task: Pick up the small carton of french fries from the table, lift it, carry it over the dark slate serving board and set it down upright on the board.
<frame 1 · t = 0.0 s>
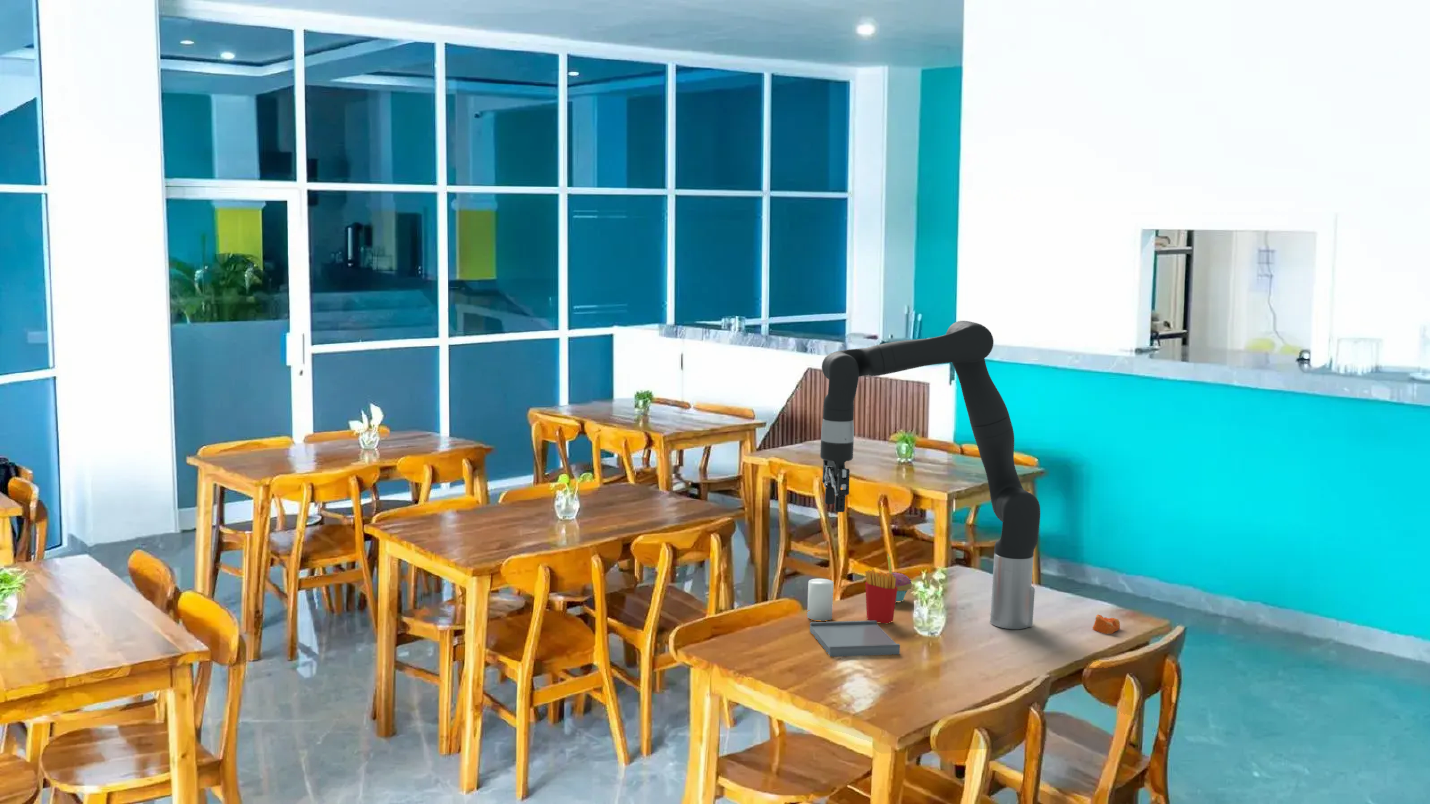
hand: (834, 507, 308), 29 cm above the table, tool pointing down, fingers open, 8 cm apart
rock: (1106, 633, 318), on the table
slate board: (853, 642, 303), on the table
white rounded cylinder: (819, 618, 321), on the table
french fries: (878, 620, 320), on the table
cupcake: (893, 600, 338), on the table
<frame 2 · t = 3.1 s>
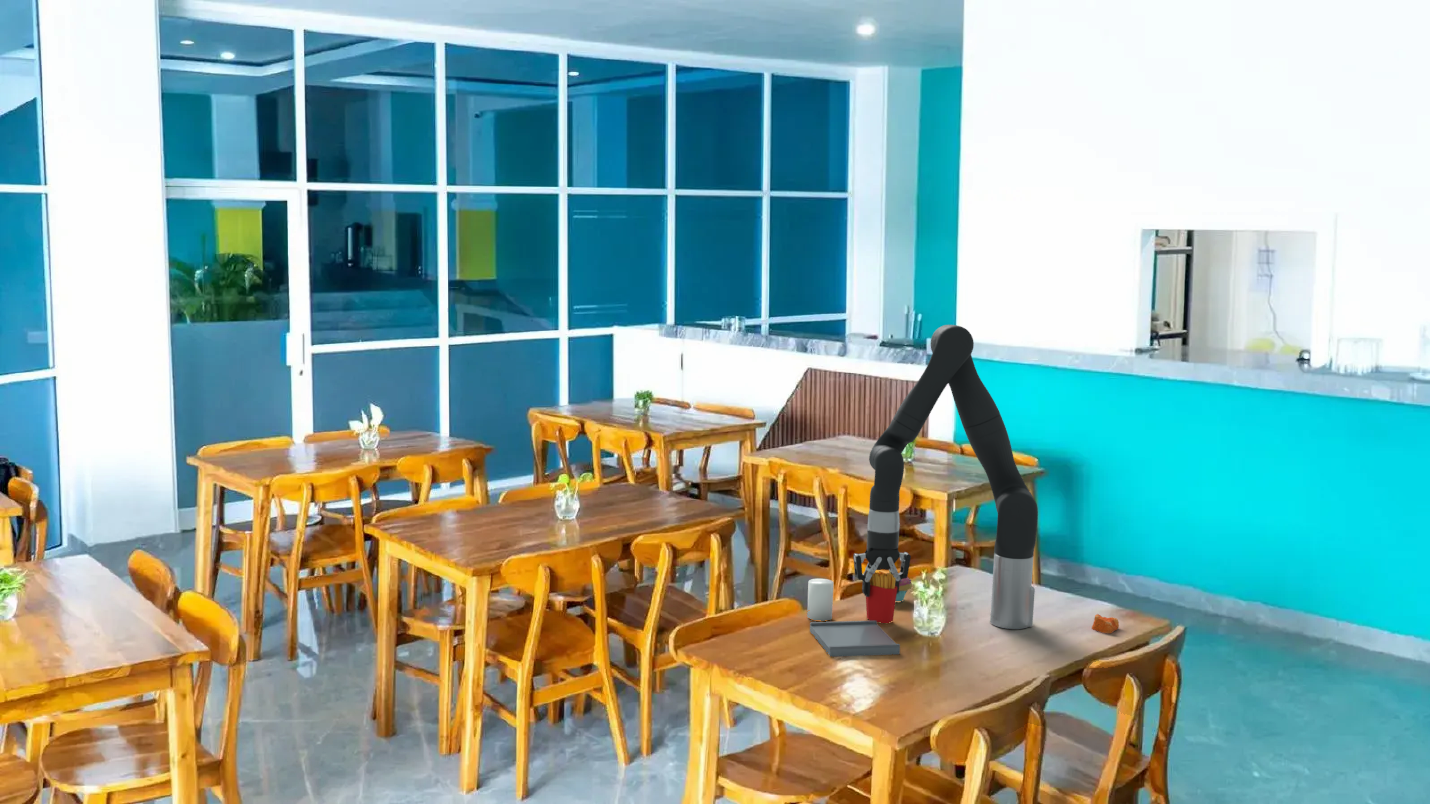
hand: (880, 595, 320), 6 cm above the table, tool pointing down, fingers closed on french fries, 6 cm apart
french fries: (878, 620, 320), on the table, touching gripper
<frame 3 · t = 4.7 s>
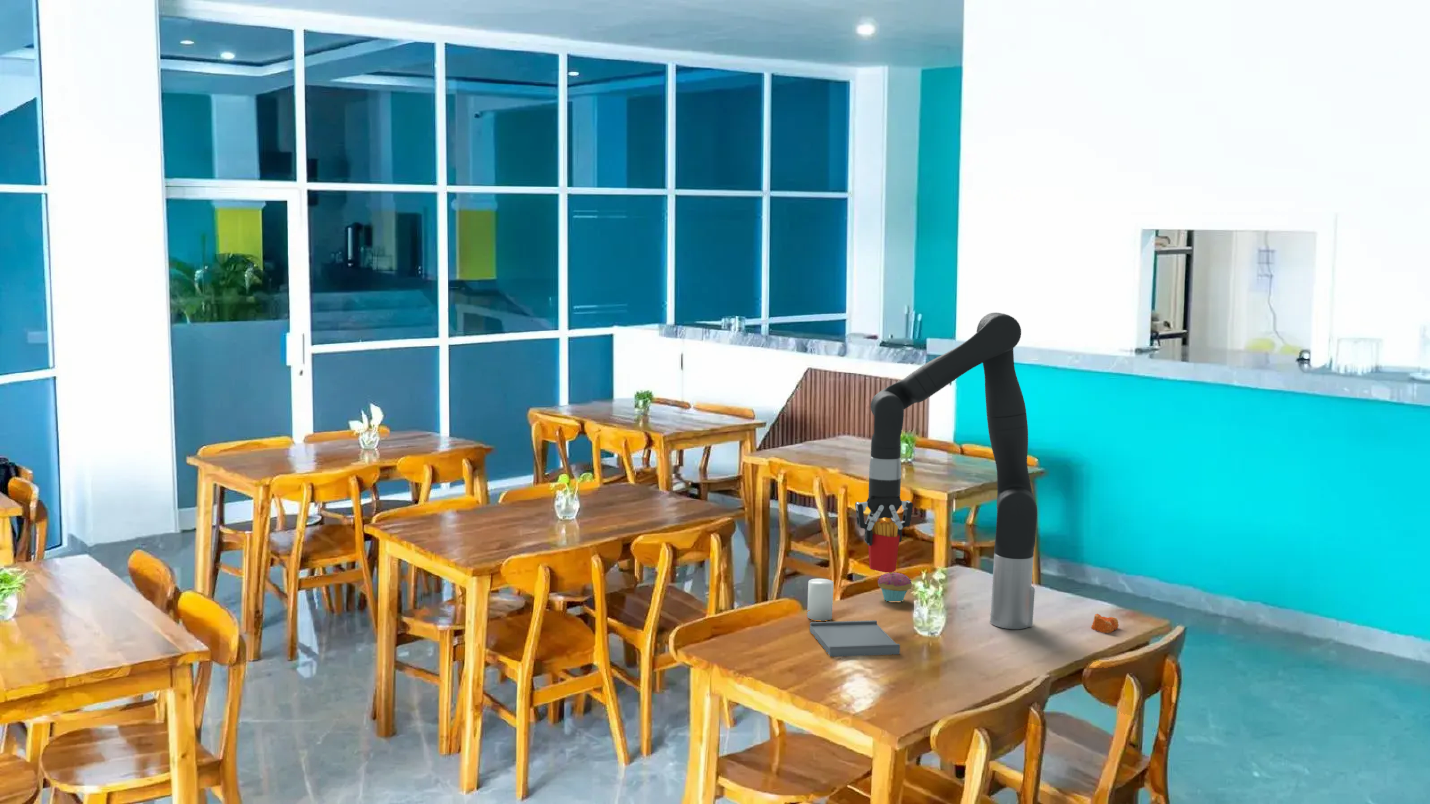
hand: (882, 544, 318), 19 cm above the table, tool pointing down, fingers closed on french fries, 6 cm apart
french fries: (881, 570, 319), point 12 cm above the table, touching gripper
everything else where it was.
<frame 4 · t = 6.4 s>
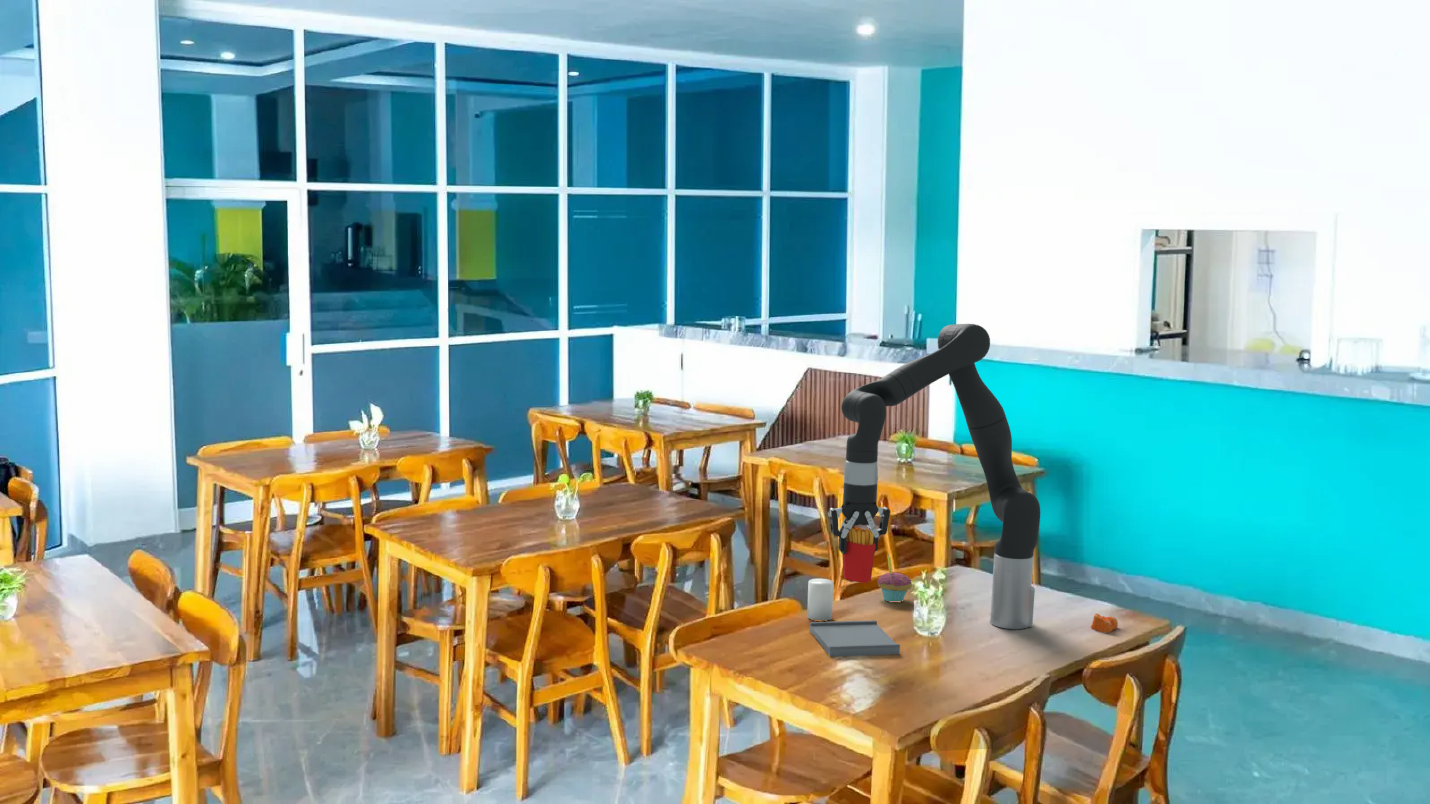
hand: (857, 552, 300), 21 cm above the table, tool pointing down, fingers closed on french fries, 6 cm apart
french fries: (856, 579, 301), point 15 cm above the table, touching gripper
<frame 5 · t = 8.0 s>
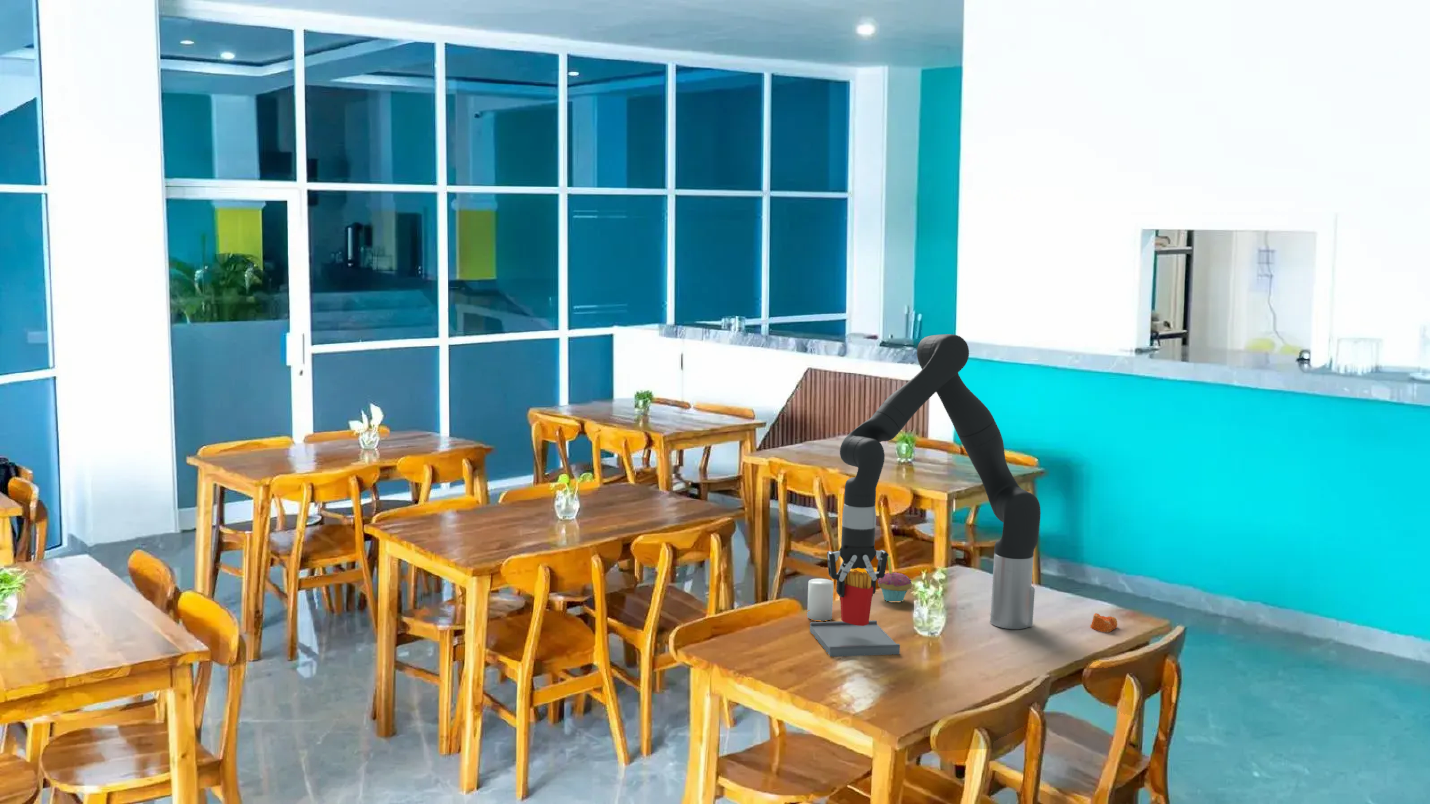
hand: (855, 595, 301), 11 cm above the table, tool pointing down, fingers closed on french fries, 6 cm apart
french fries: (853, 622, 302), point 5 cm above the table, touching gripper
when the fingers open (8 cm above the table, at t = 9.5 s): french fries stays where it is, resting on slate board.
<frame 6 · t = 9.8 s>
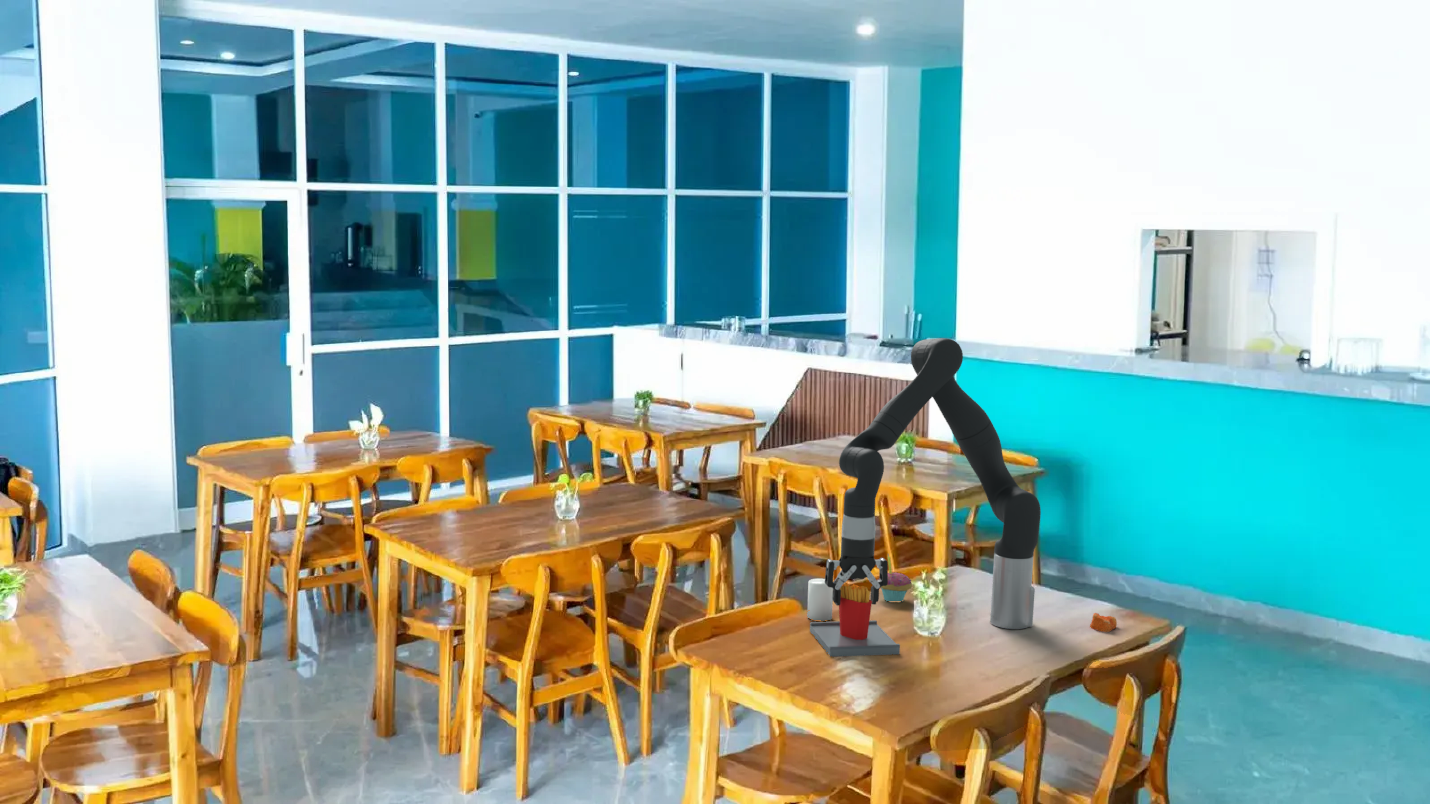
hand: (855, 604, 302), 9 cm above the table, tool pointing down, fingers open, 8 cm apart
french fries: (852, 636, 303), point 1 cm above the table, touching slate board
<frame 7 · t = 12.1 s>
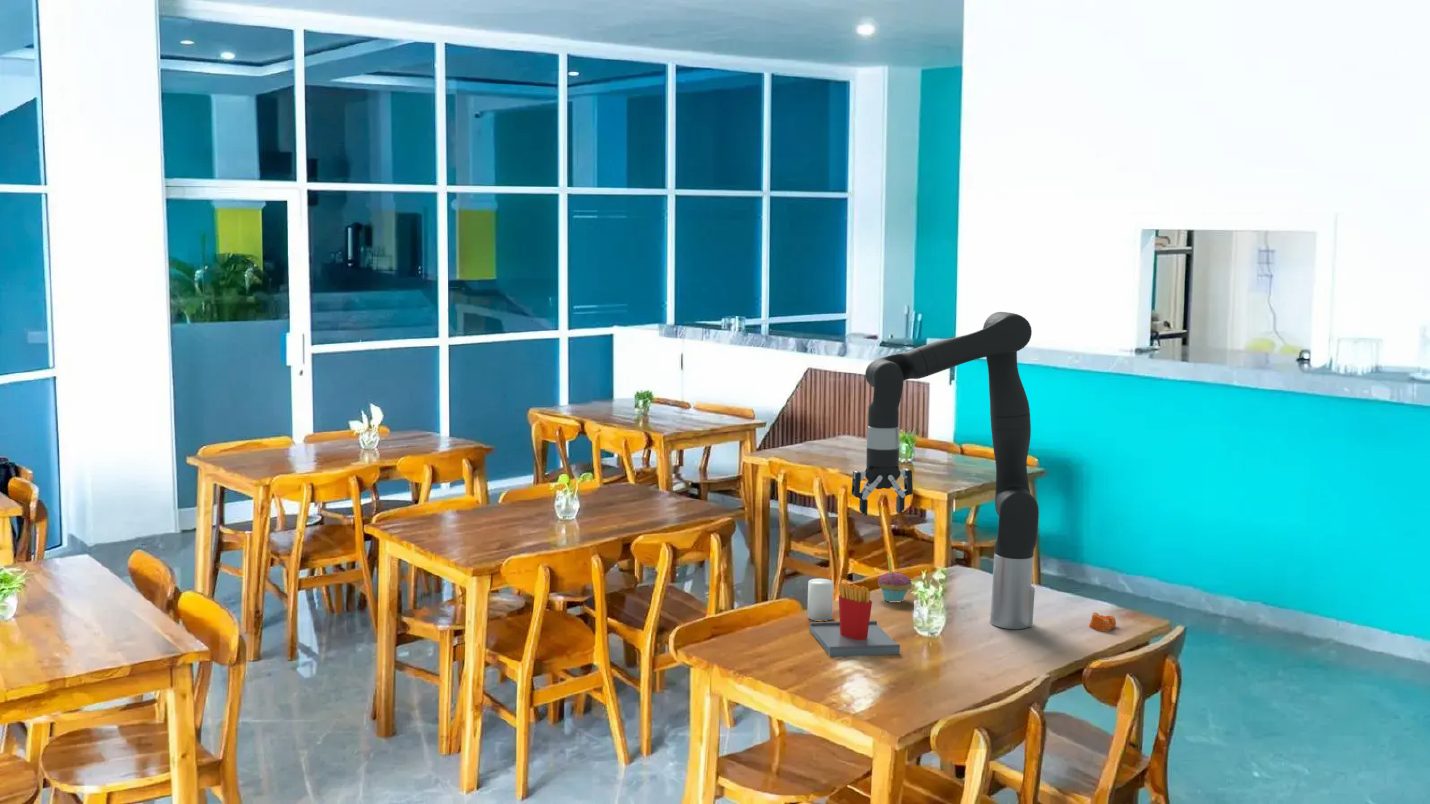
hand: (881, 513, 310), 28 cm above the table, tool pointing down, fingers open, 8 cm apart
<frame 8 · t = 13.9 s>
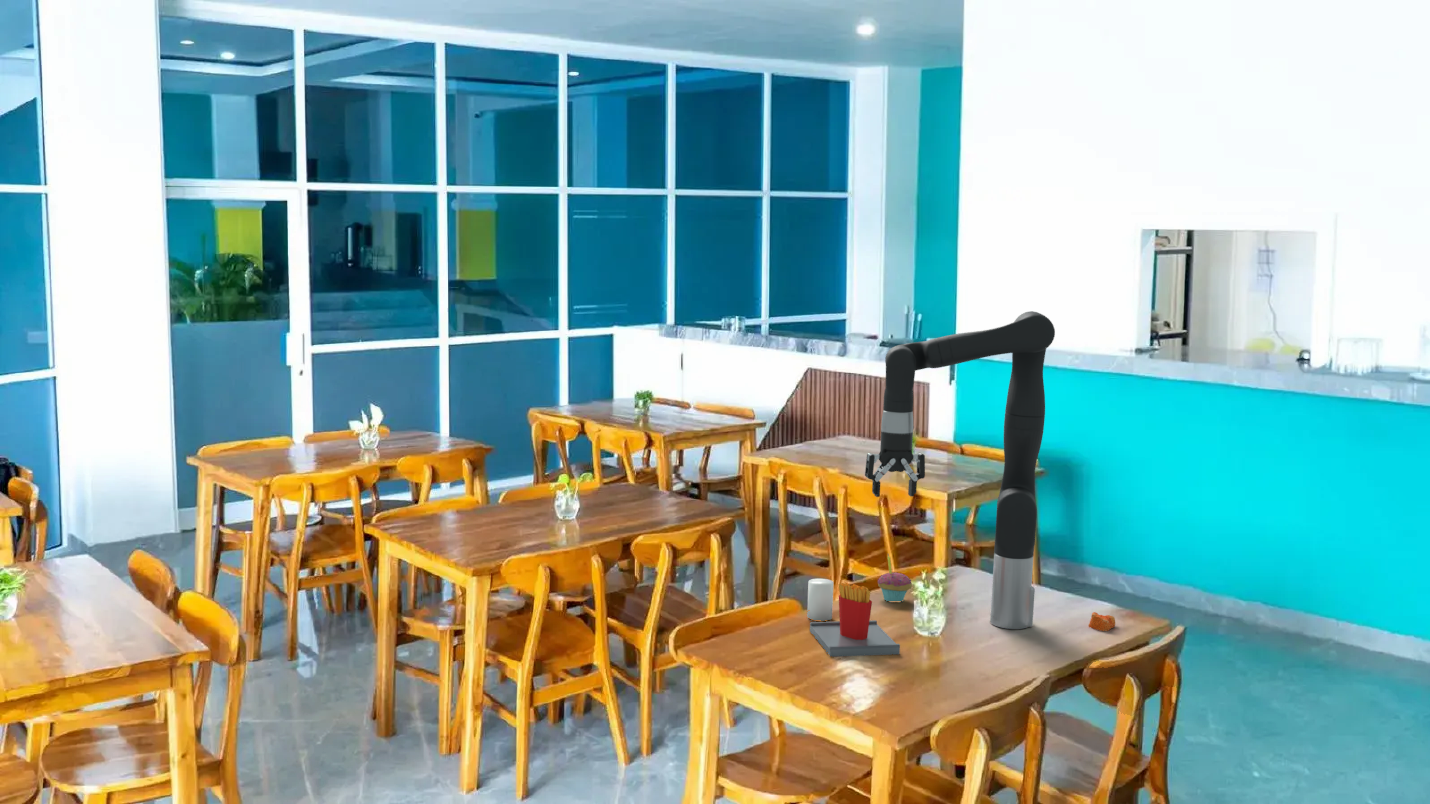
hand: (893, 496, 319), 30 cm above the table, tool pointing down, fingers open, 8 cm apart
at the end: french fries inside the target area on the slate board (0.2 cm from its centre), point 1.4 cm above the slate board's base; french fries tilted 0°; the gripper is holding nothing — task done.
